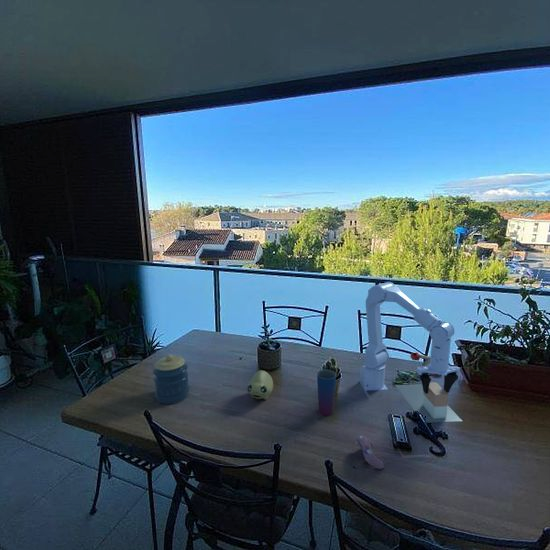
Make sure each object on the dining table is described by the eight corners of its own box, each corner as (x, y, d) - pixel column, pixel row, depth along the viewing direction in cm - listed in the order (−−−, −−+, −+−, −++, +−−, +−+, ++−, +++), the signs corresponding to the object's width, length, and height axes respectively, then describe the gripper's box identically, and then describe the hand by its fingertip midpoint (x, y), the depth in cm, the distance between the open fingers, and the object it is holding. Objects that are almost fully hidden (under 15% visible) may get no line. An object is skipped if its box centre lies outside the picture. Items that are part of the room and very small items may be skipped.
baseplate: (423, 424, 112) (423, 422, 111) (394, 386, 135) (394, 385, 135) (462, 422, 112) (462, 421, 112) (427, 385, 136) (427, 384, 136)
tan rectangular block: (434, 406, 113) (435, 394, 112) (423, 393, 121) (424, 382, 120) (447, 406, 113) (448, 394, 112) (435, 393, 121) (436, 382, 120)
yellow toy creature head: (243, 405, 123) (242, 379, 121) (252, 388, 134) (251, 364, 132) (268, 408, 121) (268, 382, 119) (275, 391, 132) (275, 367, 130)
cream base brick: (433, 418, 114) (434, 406, 113) (422, 404, 121) (423, 393, 120) (446, 417, 114) (447, 406, 113) (434, 404, 122) (435, 393, 121)
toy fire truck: (443, 376, 142) (445, 356, 140) (411, 375, 144) (413, 355, 142) (440, 373, 146) (442, 353, 144) (408, 371, 147) (410, 351, 145)
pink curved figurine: (360, 450, 102) (351, 433, 100) (373, 444, 102) (364, 427, 100) (372, 476, 92) (362, 457, 91) (386, 468, 92) (376, 450, 91)
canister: (153, 407, 122) (148, 364, 119) (157, 388, 135) (154, 349, 131) (188, 402, 125) (185, 360, 121) (190, 385, 137) (187, 346, 134)
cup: (336, 407, 121) (337, 371, 118) (333, 419, 115) (334, 380, 112) (318, 404, 123) (319, 368, 120) (314, 415, 117) (315, 377, 114)
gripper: (425, 362, 109) (421, 398, 112) (467, 361, 110) (462, 397, 112) (415, 353, 116) (412, 387, 119) (454, 352, 116) (450, 386, 119)
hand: (435, 391), depth 116 cm, fingers open, 7 cm apart
